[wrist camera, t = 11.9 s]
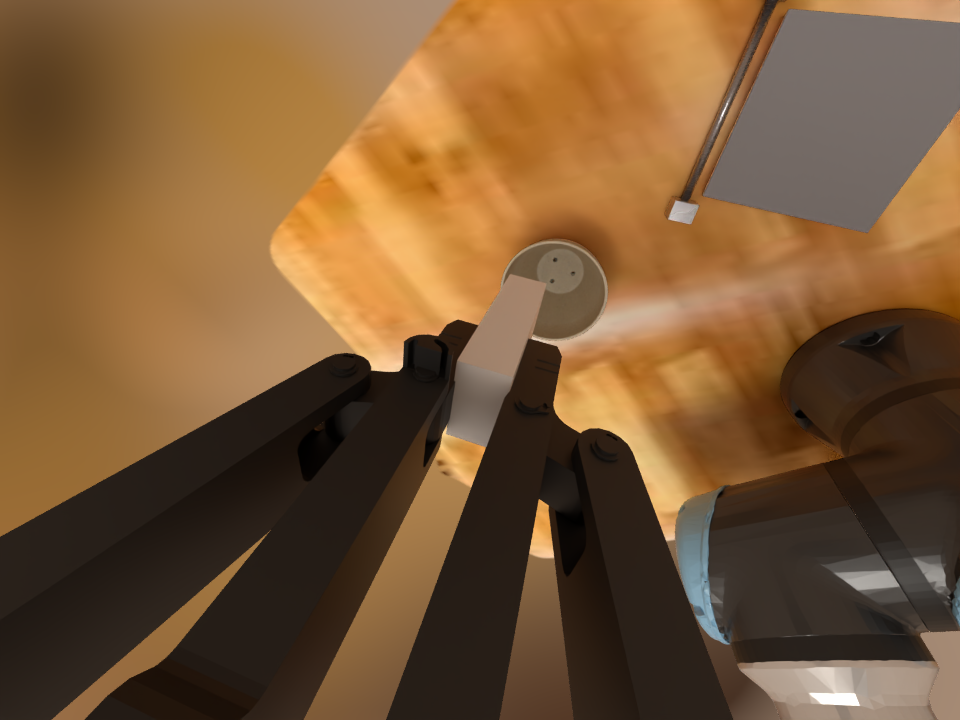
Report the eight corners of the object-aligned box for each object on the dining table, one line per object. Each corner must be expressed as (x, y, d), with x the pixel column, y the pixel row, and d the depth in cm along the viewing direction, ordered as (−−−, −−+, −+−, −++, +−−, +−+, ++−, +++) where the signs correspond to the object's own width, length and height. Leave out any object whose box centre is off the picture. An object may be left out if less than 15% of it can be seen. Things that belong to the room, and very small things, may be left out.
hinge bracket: (798, -30, 25) (814, -43, 23) (686, 218, 35) (690, 224, 33) (767, -34, 26) (780, -46, 24) (664, 213, 35) (667, 219, 33)
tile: (789, 8, 25) (785, 14, 26) (702, 195, 32) (702, 193, 33) (1019, 27, 22) (1003, 33, 23) (867, 233, 29) (860, 229, 30)
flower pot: (575, 202, 37) (570, 217, 31) (625, 283, 40) (628, 311, 34) (497, 257, 42) (480, 279, 36) (546, 326, 45) (537, 356, 39)
